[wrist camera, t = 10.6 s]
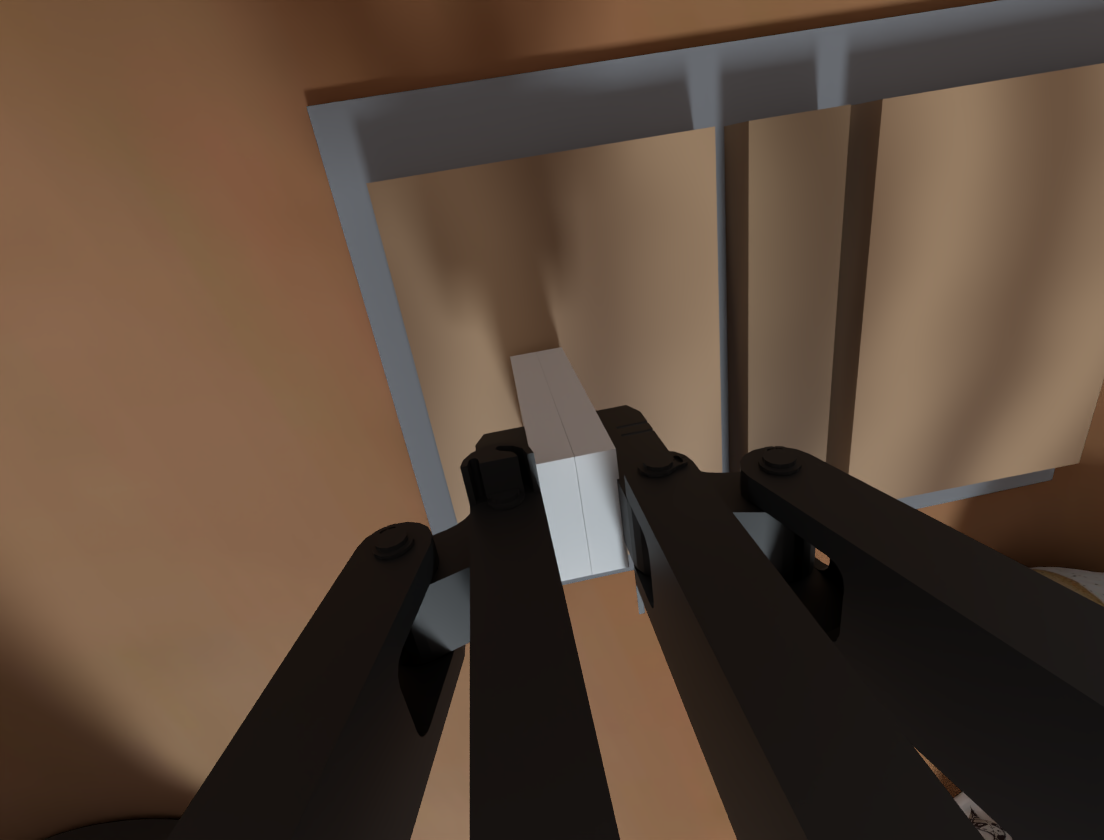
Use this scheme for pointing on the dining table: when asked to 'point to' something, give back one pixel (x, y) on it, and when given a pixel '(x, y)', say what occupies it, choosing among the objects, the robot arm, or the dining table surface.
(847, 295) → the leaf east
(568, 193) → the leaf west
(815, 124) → the centre strip
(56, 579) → the dining table surface
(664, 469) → the robot arm
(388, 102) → the underlay mat
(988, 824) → the decorative candle
